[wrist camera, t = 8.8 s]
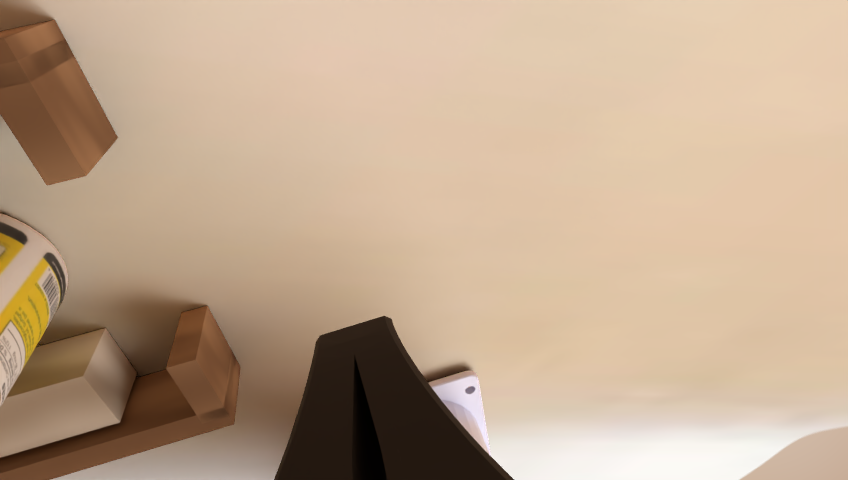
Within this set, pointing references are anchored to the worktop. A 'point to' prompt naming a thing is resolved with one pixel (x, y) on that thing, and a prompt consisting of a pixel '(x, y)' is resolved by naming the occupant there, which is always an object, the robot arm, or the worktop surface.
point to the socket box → (97, 351)
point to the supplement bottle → (25, 295)
